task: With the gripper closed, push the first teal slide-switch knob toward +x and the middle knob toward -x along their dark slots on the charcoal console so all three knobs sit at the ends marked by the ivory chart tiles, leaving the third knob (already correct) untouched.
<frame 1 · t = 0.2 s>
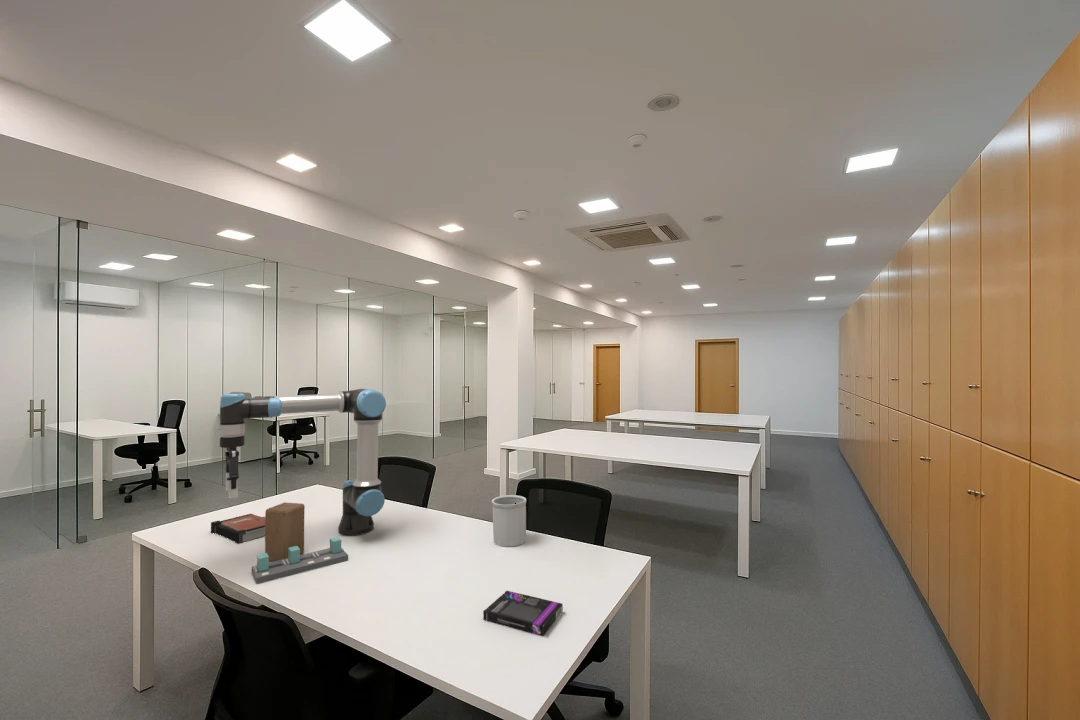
hand: (231, 493, 164), 28 cm above the table, fingers open, 13 cm apart
slider C: (262, 562, 160), point 4 cm above the table, slide at 4.5 cm
box: (523, 618, 132), on the table
console: (301, 566, 167), on the table
slider B: (294, 554, 166), point 4 cm above the table, slide at 4.5 cm
wooden block: (284, 558, 175), on the table
utensil holder: (509, 541, 191), on the table
book: (246, 533, 203), on the table
slider A: (335, 544, 176), point 4 cm above the table, slide at 0.0 cm
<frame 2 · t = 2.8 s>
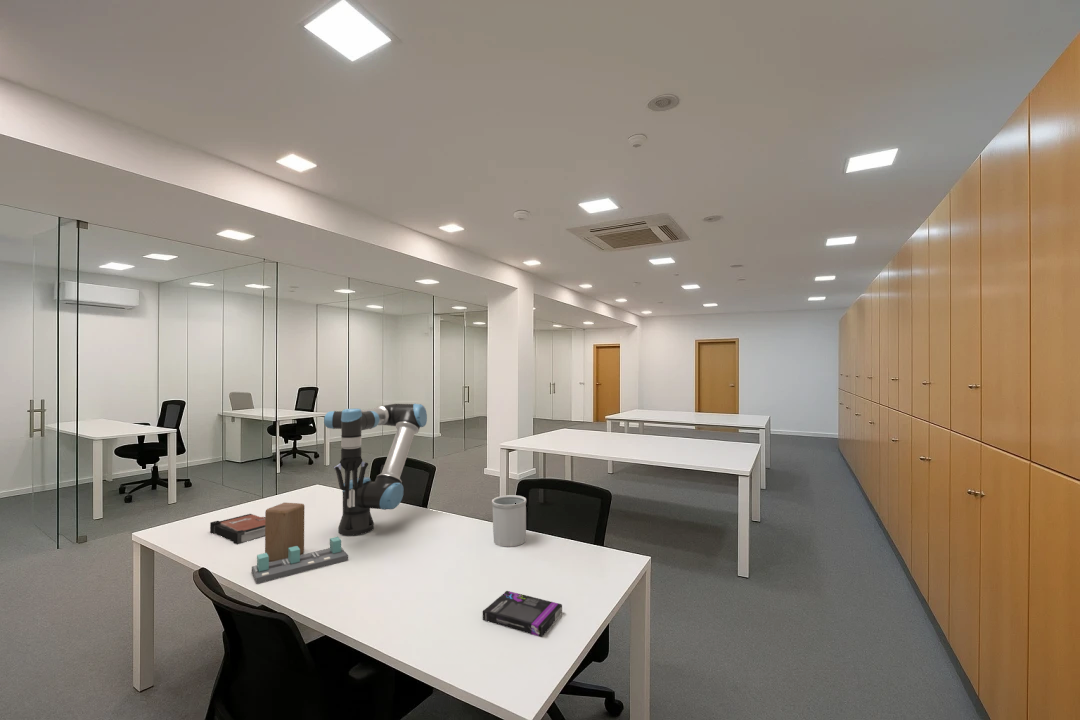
hand: (350, 506, 180), 18 cm above the table, fingers closed
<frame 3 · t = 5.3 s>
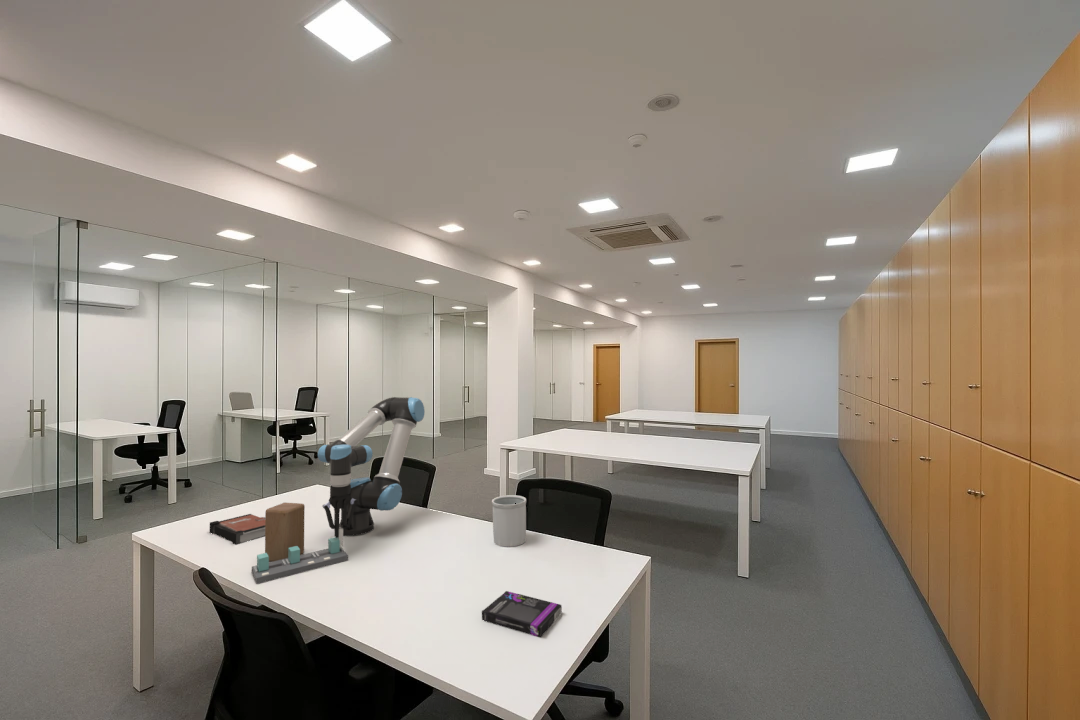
hand: (340, 544, 177), 4 cm above the table, fingers closed
slider A: (333, 545, 175), point 4 cm above the table, slide at 0.6 cm, touching gripper
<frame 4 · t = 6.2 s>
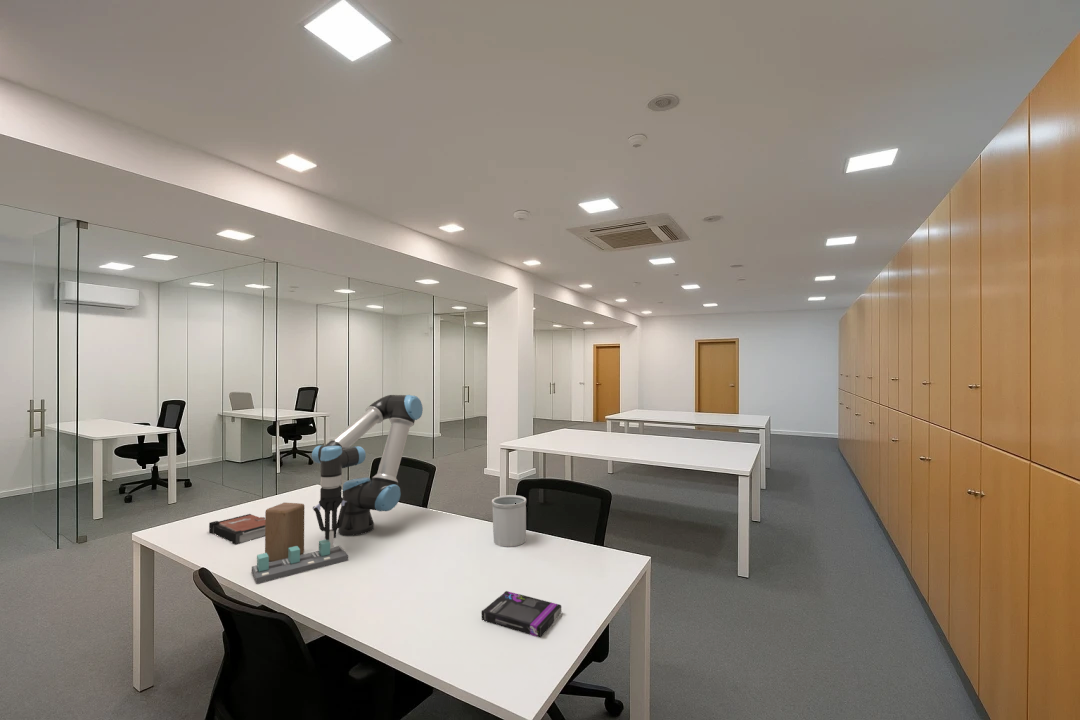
hand: (330, 547, 174), 4 cm above the table, fingers closed
slider A: (324, 547, 173), point 4 cm above the table, slide at 4.0 cm, touching gripper
everything else where it was.
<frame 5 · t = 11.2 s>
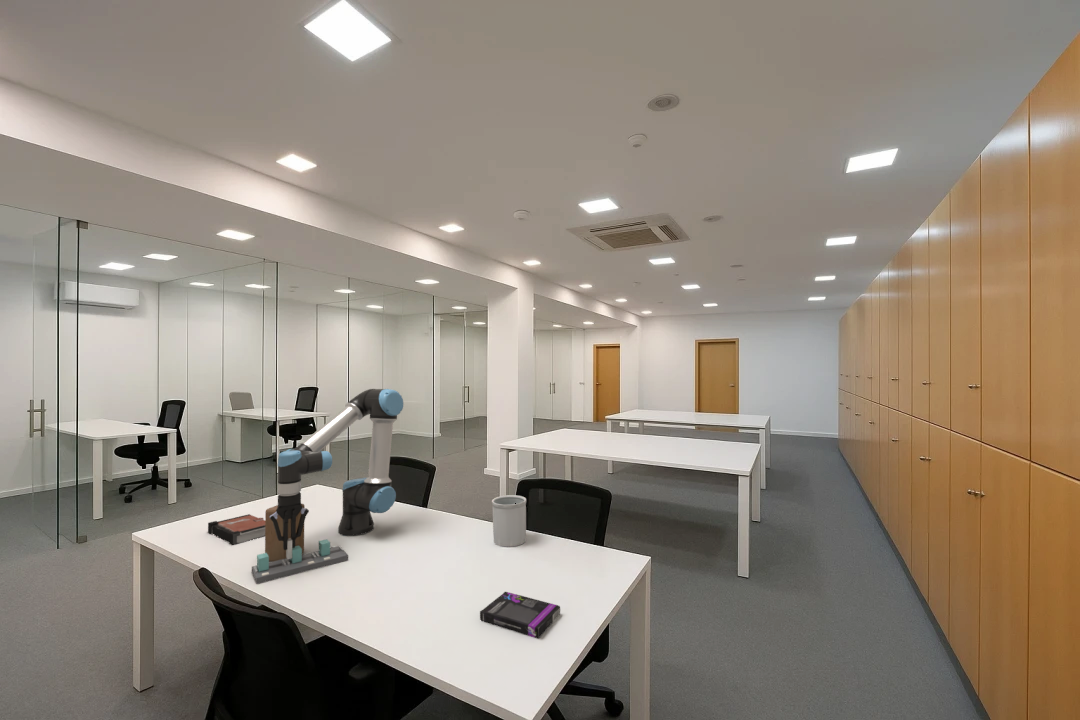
hand: (289, 557, 165), 4 cm above the table, fingers closed
slider B: (295, 554, 167), point 4 cm above the table, slide at 3.9 cm, touching gripper
slider A: (324, 547, 173), point 4 cm above the table, slide at 4.1 cm
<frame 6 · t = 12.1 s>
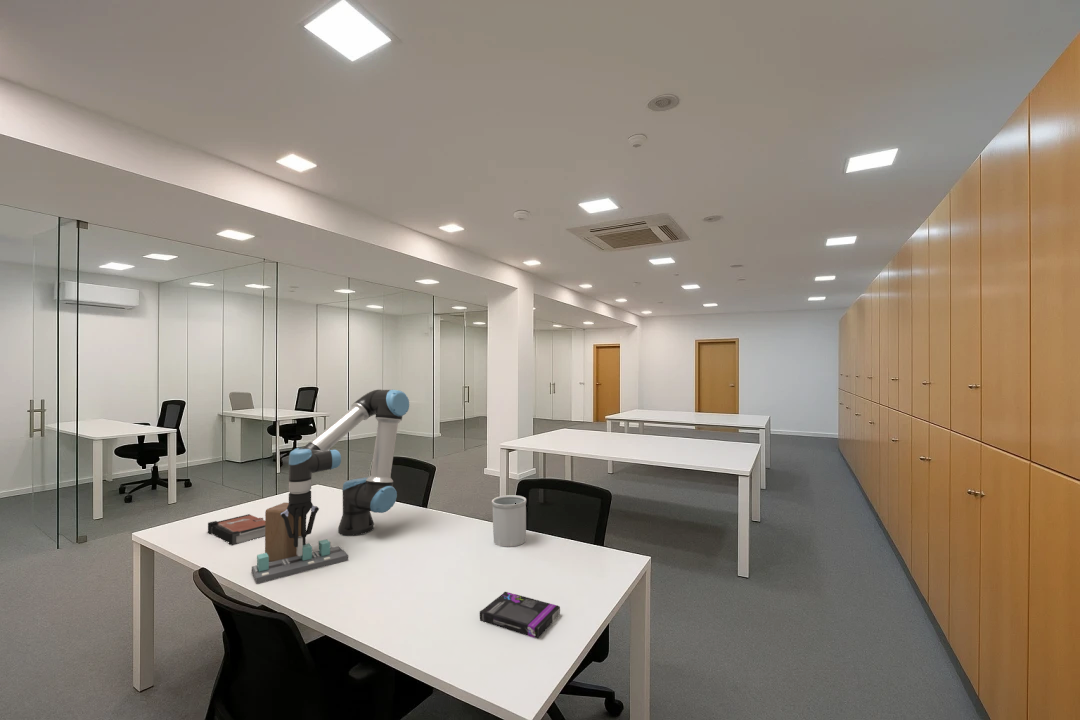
hand: (299, 554, 168), 4 cm above the table, fingers closed
slider B: (306, 551, 169), point 4 cm above the table, slide at 0.4 cm, touching gripper
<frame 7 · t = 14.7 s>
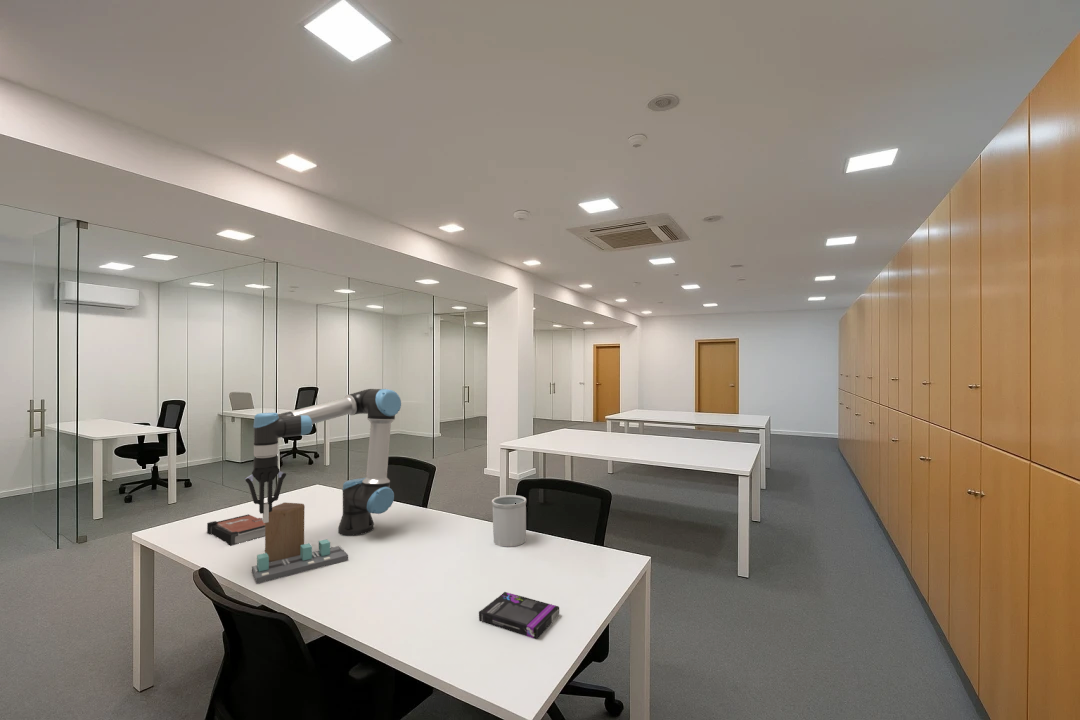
hand: (265, 521, 161), 19 cm above the table, fingers closed
slider B: (306, 551, 169), point 4 cm above the table, slide at 0.4 cm
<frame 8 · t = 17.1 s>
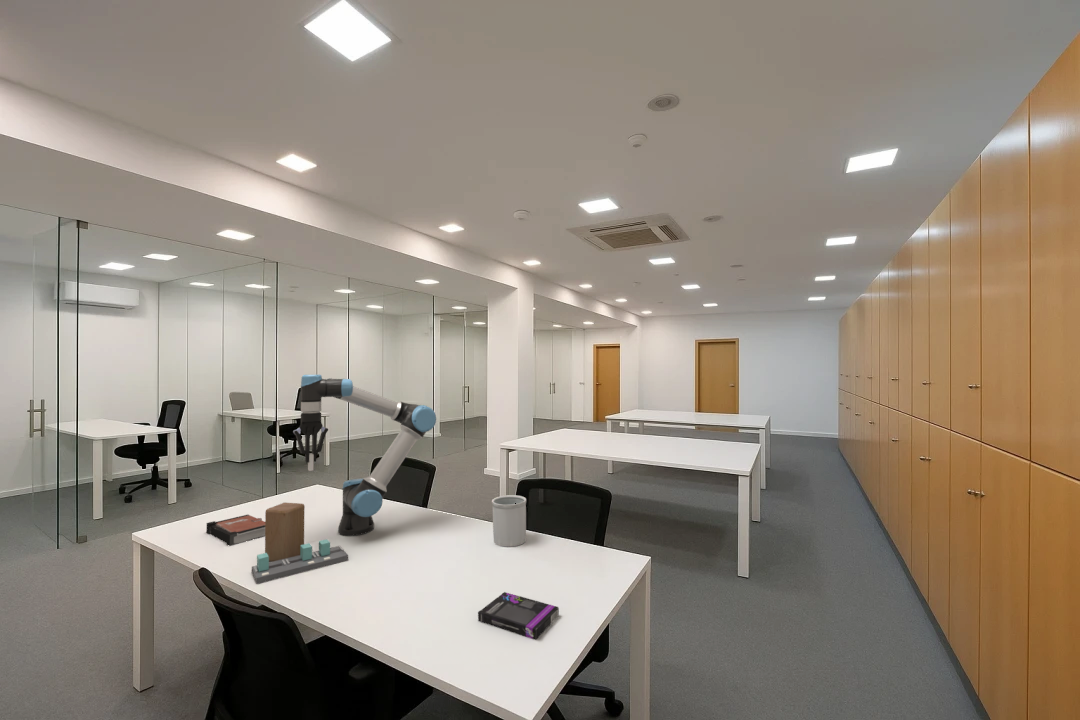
hand: (310, 470, 182), 32 cm above the table, fingers closed
at the end: slider A slide at 4.1 cm; slider B slide at 0.4 cm; slider C slide at 4.5 cm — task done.
